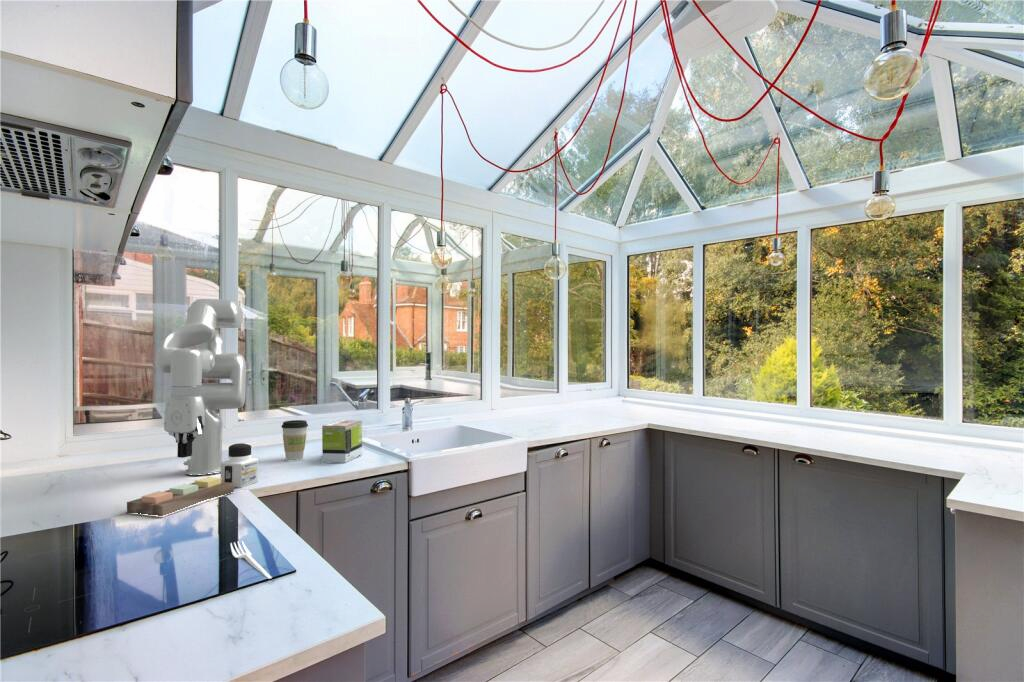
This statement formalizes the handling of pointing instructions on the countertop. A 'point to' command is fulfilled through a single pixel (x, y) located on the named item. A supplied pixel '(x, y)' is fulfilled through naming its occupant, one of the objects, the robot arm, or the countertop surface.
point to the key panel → (179, 500)
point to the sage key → (184, 489)
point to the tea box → (341, 441)
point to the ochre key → (208, 482)
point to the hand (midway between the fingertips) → (184, 456)
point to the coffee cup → (294, 438)
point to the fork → (247, 557)
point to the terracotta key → (157, 497)
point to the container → (240, 466)
